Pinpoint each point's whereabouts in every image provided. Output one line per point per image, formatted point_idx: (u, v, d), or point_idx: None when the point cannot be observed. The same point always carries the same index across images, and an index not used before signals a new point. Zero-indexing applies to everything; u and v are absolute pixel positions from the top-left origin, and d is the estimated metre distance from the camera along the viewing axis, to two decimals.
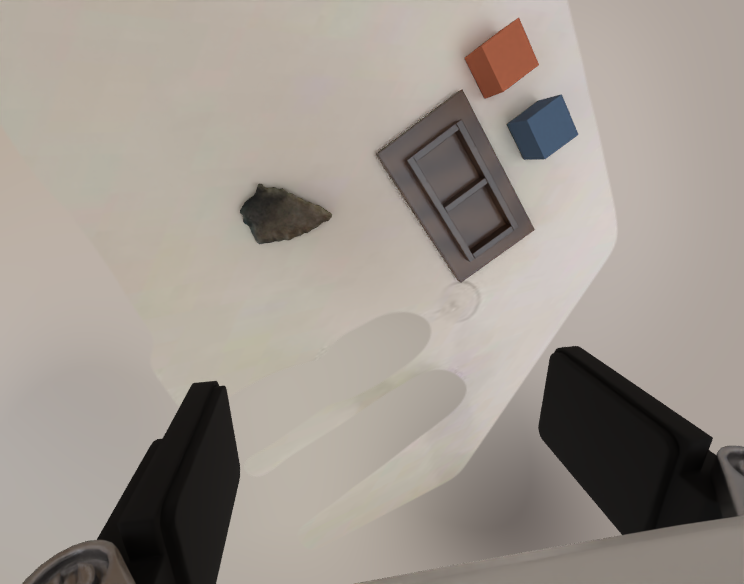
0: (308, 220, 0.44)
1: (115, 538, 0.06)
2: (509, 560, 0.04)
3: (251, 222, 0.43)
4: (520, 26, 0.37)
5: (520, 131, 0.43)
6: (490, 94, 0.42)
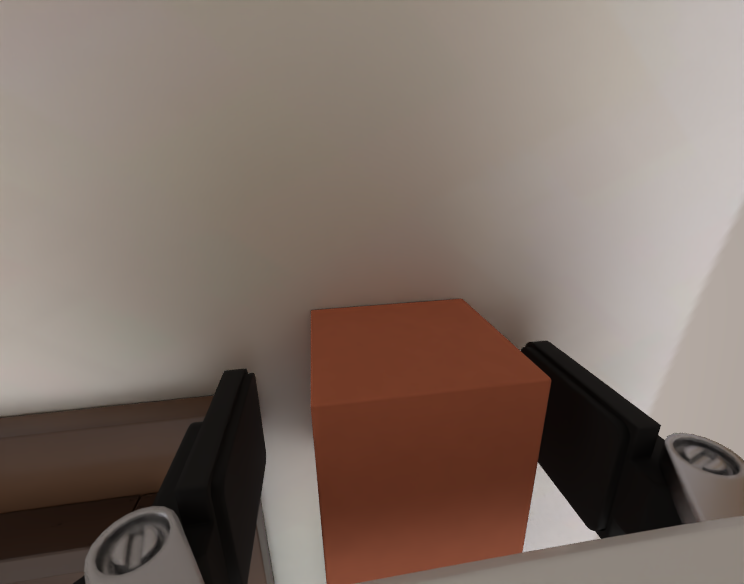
0: None
1: (167, 507, 0.07)
2: (509, 560, 0.04)
3: None
4: (536, 413, 0.07)
5: None
6: None
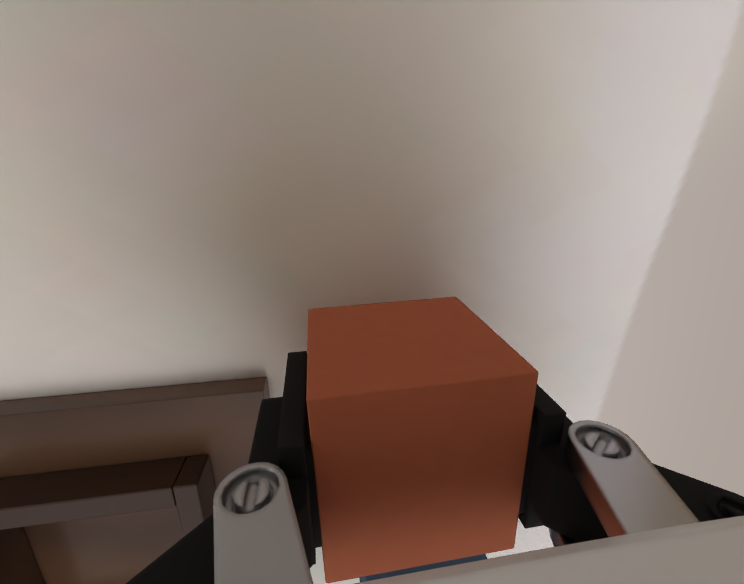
0: None
1: None
2: (509, 560, 0.04)
3: None
4: (525, 405, 0.08)
5: None
6: None
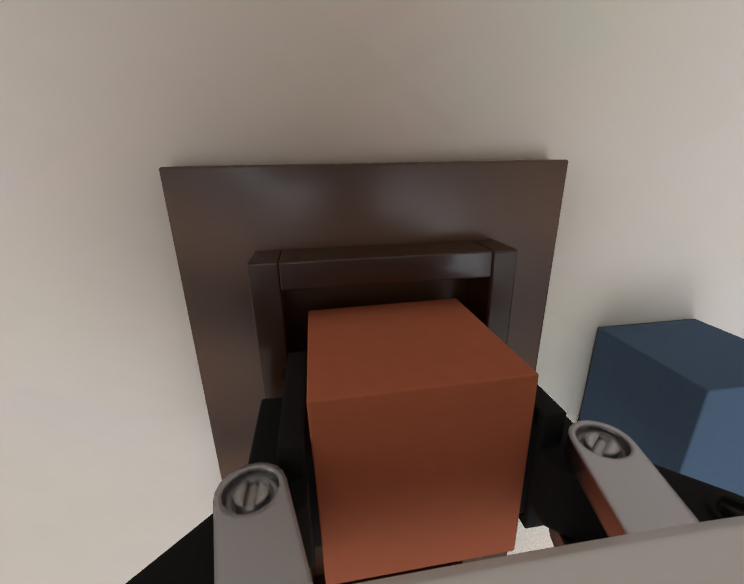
0: None
1: None
2: (509, 560, 0.04)
3: None
4: (525, 408, 0.08)
5: (635, 381, 0.13)
6: None
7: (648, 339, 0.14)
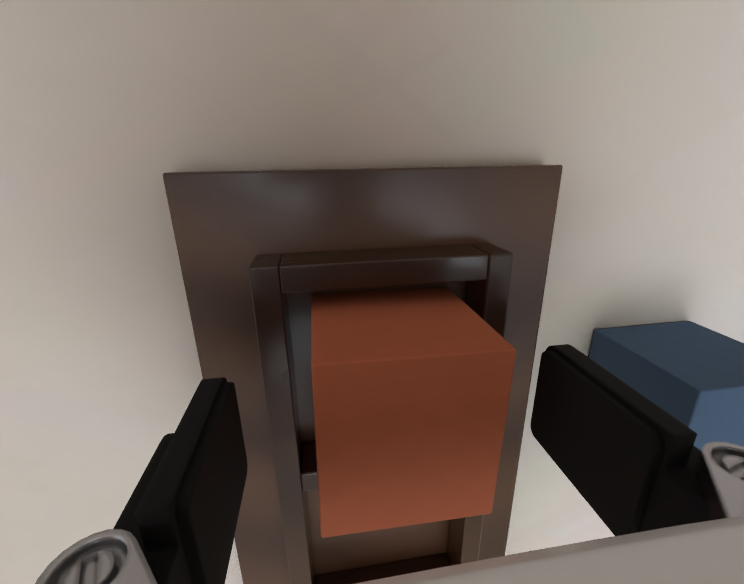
0: None
1: (131, 528, 0.06)
2: (509, 560, 0.04)
3: None
4: (504, 380, 0.08)
5: (630, 382, 0.14)
6: None
7: (643, 341, 0.14)
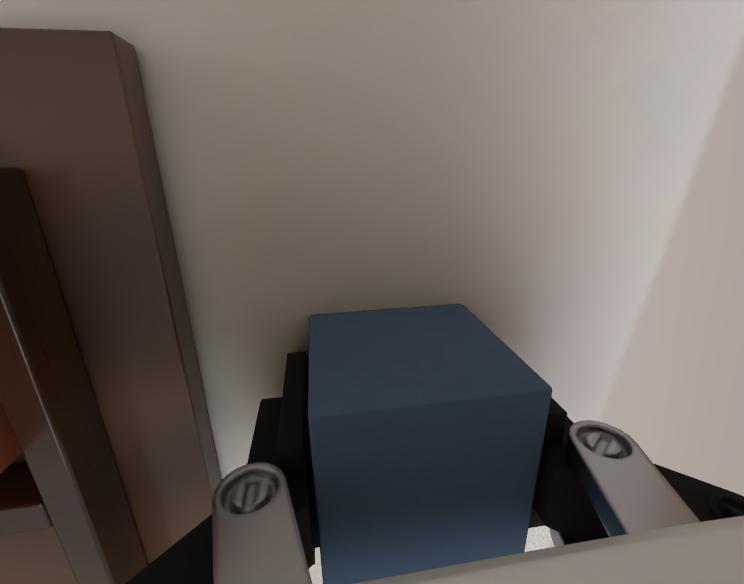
0: None
1: None
2: (509, 560, 0.04)
3: None
4: None
5: None
6: None
7: (350, 331, 0.09)
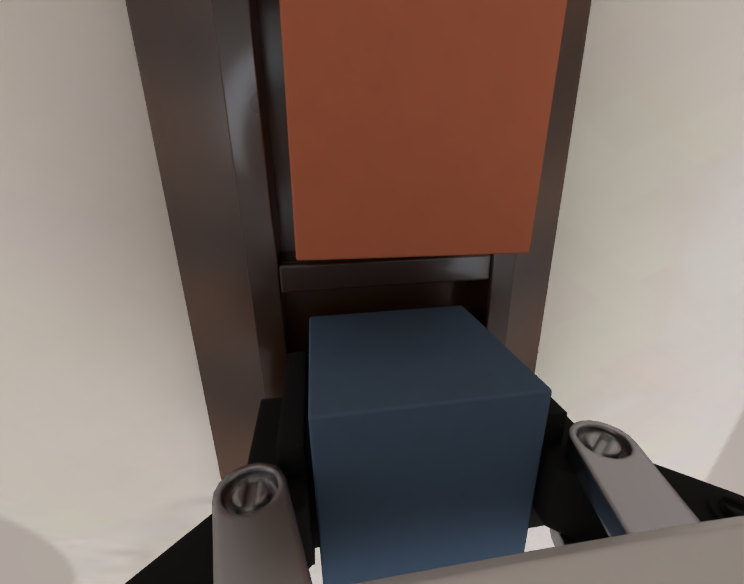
0: None
1: None
2: (509, 560, 0.04)
3: None
4: None
5: None
6: None
7: (350, 333, 0.09)
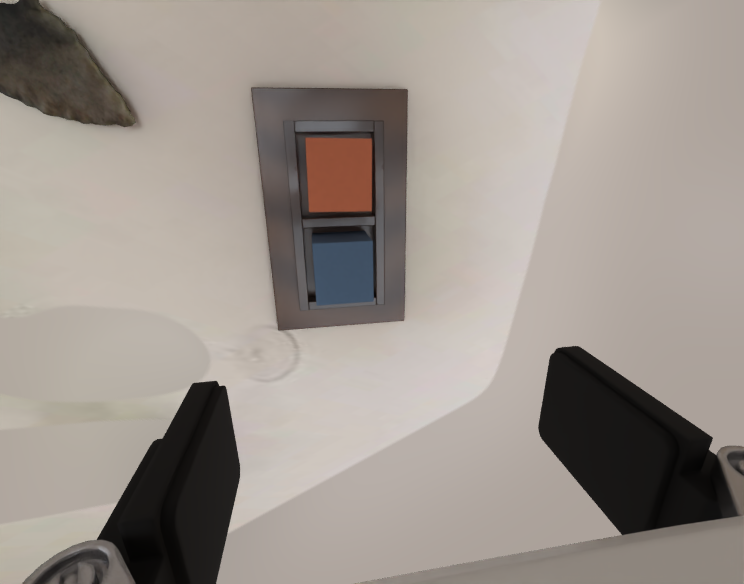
0: (90, 105, 0.26)
1: (115, 538, 0.06)
2: (509, 560, 0.04)
3: None
4: (368, 150, 0.26)
5: None
6: None
7: (324, 235, 0.30)
